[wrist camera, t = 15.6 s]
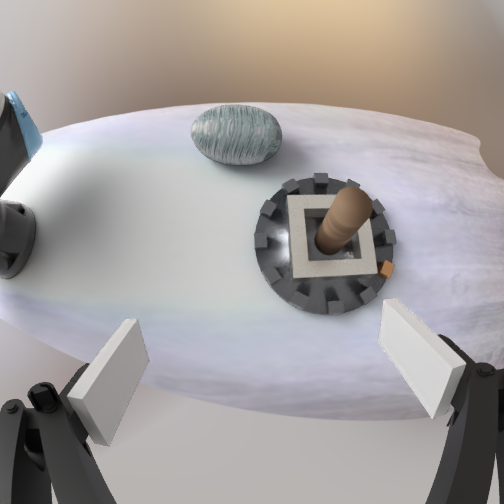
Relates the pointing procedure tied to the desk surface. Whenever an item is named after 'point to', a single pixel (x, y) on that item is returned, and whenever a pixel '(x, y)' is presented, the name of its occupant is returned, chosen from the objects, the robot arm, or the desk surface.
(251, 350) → the desk surface
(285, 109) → the desk surface
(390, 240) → the sprocket plate
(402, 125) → the desk surface
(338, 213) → the drive pin
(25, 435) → the robot arm
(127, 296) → the desk surface
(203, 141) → the grey green streaked ellipsoid
